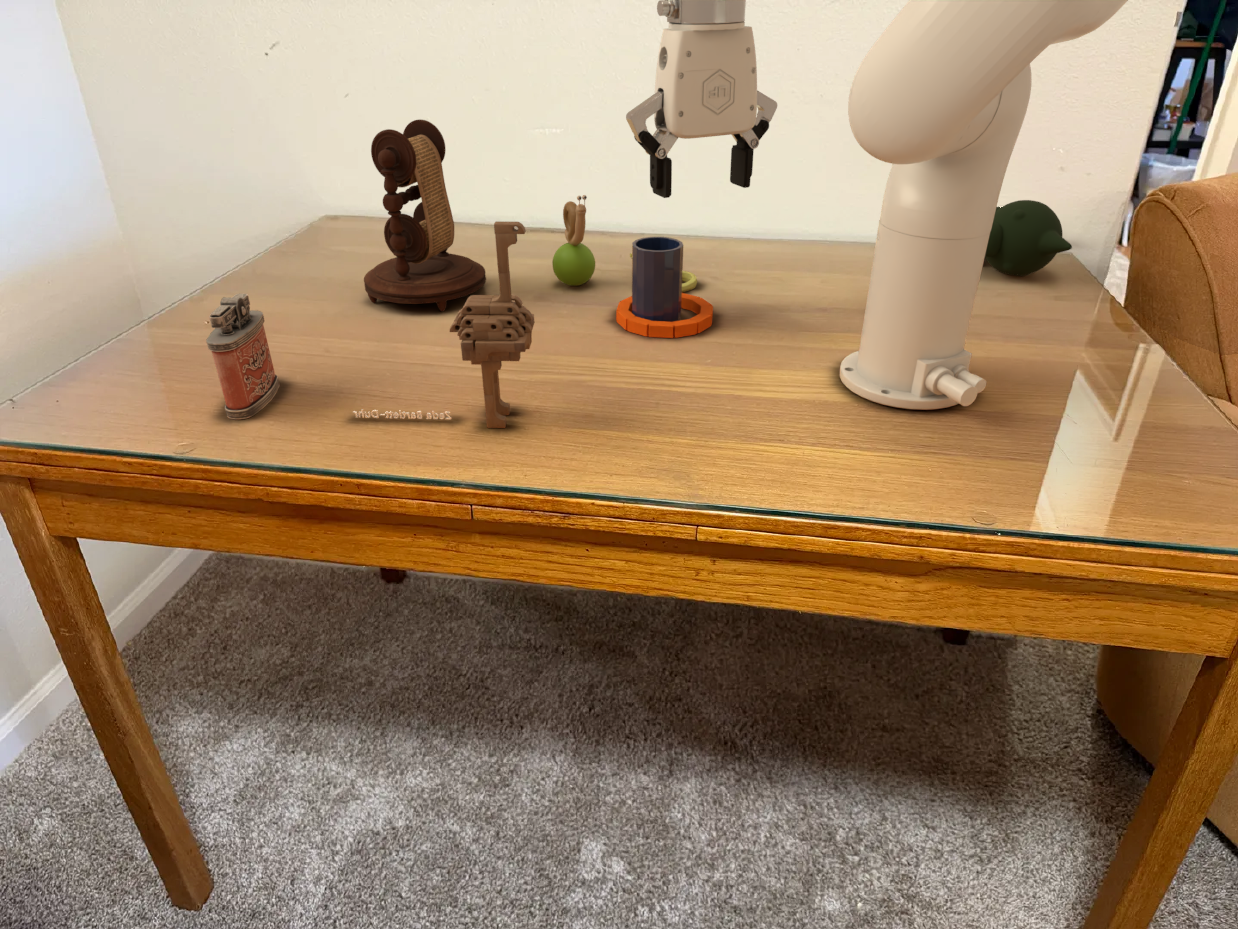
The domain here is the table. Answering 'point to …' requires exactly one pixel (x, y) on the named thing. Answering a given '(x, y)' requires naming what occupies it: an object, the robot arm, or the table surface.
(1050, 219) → the toy figurine
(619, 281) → the table surface
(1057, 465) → the table surface
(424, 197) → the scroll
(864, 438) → the table surface
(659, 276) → the cup
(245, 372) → the lighter
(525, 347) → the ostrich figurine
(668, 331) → the ring
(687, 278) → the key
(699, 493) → the table surface
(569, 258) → the snail figurine
